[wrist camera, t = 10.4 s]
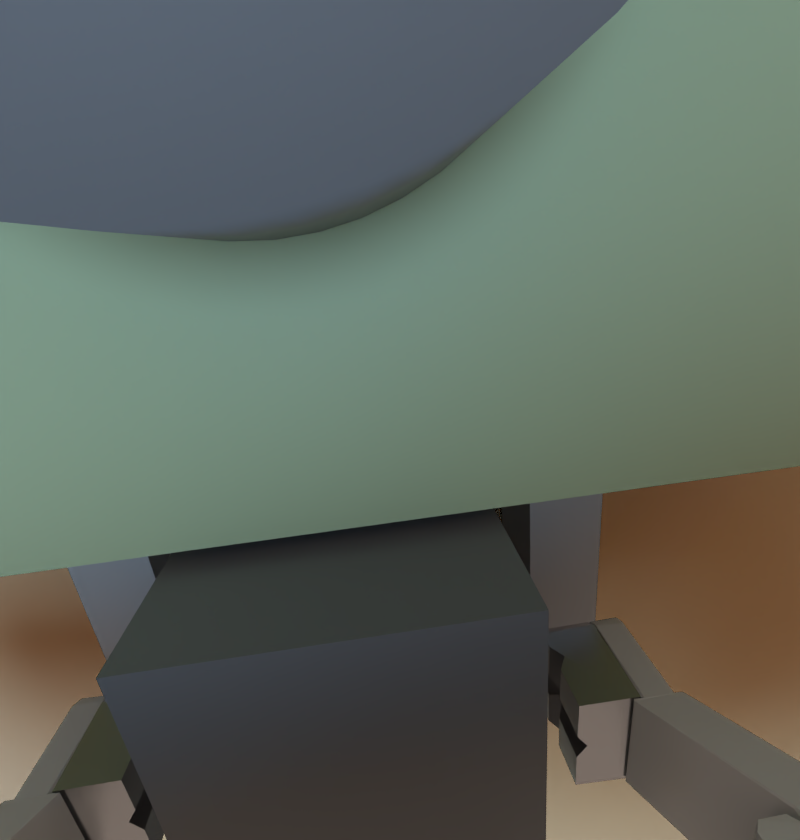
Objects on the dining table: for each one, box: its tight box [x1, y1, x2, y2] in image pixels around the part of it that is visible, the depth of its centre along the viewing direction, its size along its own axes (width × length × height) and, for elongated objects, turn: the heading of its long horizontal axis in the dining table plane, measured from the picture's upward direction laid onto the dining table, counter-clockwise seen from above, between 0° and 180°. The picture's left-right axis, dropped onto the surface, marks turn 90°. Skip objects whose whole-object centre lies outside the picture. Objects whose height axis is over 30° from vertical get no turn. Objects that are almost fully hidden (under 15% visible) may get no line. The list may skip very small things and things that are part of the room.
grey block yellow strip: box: [96, 508, 549, 840], centre depth 9 cm, size 5×7×7 cm
